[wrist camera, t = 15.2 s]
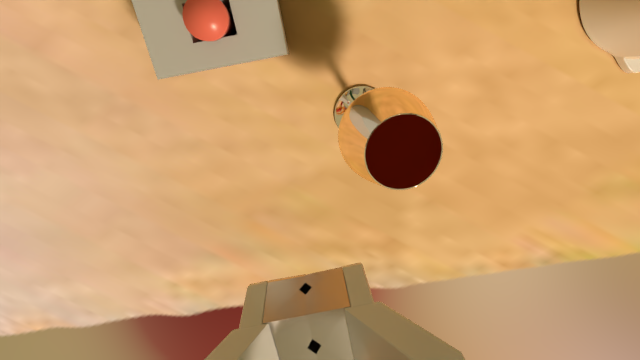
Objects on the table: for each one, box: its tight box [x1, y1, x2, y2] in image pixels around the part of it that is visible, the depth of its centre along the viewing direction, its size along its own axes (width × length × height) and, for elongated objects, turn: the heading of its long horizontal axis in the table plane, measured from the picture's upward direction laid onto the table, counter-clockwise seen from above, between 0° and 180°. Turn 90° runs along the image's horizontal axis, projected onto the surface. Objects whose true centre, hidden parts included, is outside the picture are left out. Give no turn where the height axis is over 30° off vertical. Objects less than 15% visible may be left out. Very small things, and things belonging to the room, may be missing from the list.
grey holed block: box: [132, 0, 289, 79], centre depth 34 cm, size 12×8×8 cm, turn 100°
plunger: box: [183, 0, 237, 41], centre depth 33 cm, size 4×4×9 cm
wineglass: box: [334, 86, 443, 190], centre depth 34 cm, size 8×8×18 cm
